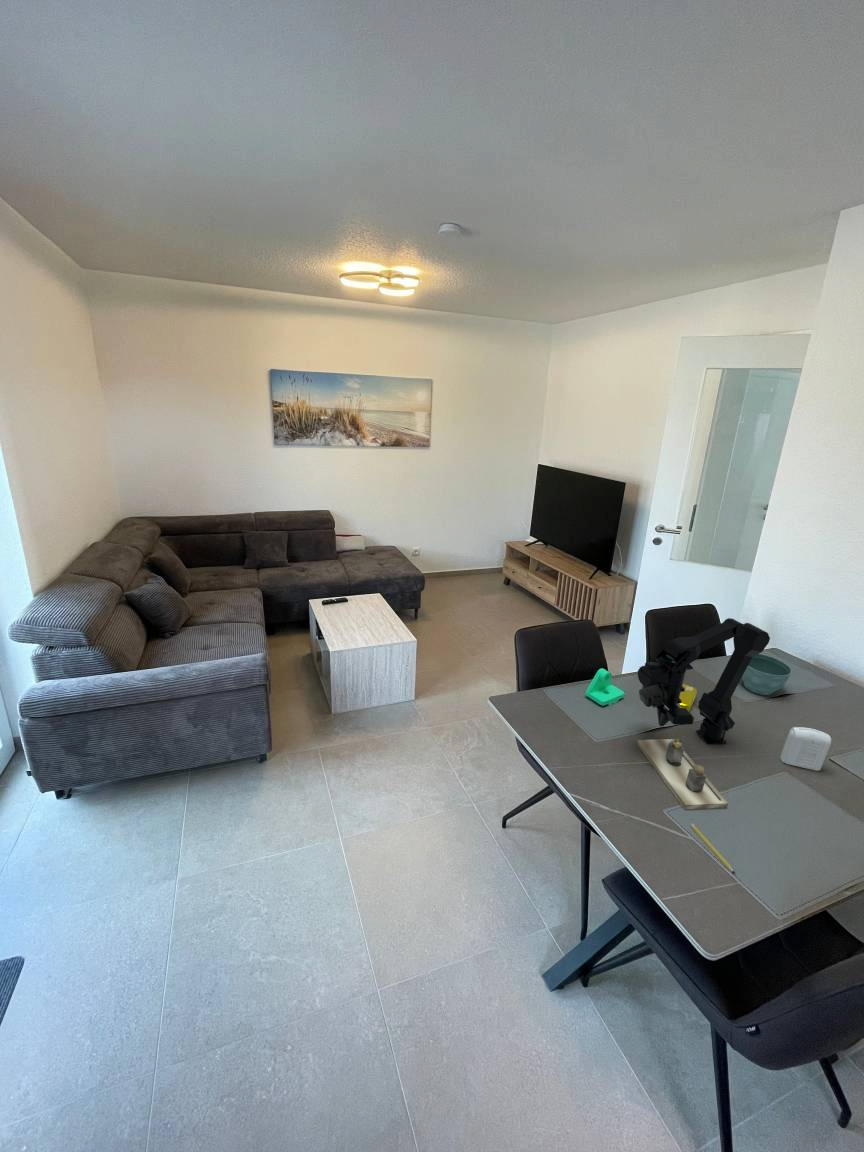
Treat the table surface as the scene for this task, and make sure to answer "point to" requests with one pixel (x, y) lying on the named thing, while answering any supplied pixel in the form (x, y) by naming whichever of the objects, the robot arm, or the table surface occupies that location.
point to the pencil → (712, 848)
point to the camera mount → (603, 689)
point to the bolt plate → (682, 777)
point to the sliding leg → (675, 751)
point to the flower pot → (765, 674)
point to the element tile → (687, 697)
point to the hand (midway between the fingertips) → (661, 725)
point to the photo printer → (806, 748)
